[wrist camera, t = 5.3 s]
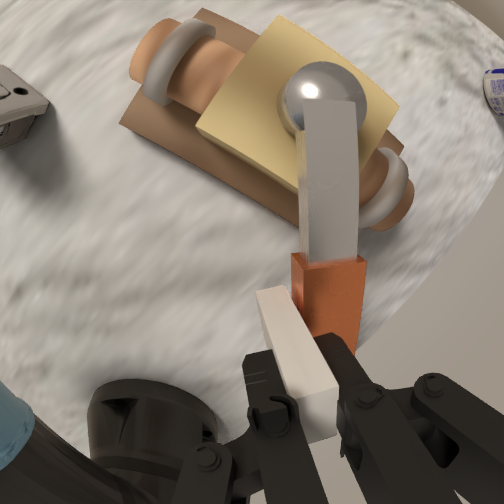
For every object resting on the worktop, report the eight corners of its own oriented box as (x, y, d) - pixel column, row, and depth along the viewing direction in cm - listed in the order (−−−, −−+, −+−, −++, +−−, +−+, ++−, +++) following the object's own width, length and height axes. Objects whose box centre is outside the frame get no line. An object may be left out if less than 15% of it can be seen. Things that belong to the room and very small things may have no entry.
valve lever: (341, 334, 14) (357, 359, 12) (286, 345, 14) (296, 372, 12) (342, 76, 10) (366, 64, 8) (273, 72, 10) (286, 55, 8)
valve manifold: (328, 245, 23) (386, 295, 14) (127, 125, 18) (69, 110, 9) (390, 145, 20) (469, 151, 12) (202, 19, 15) (199, -50, 7)
